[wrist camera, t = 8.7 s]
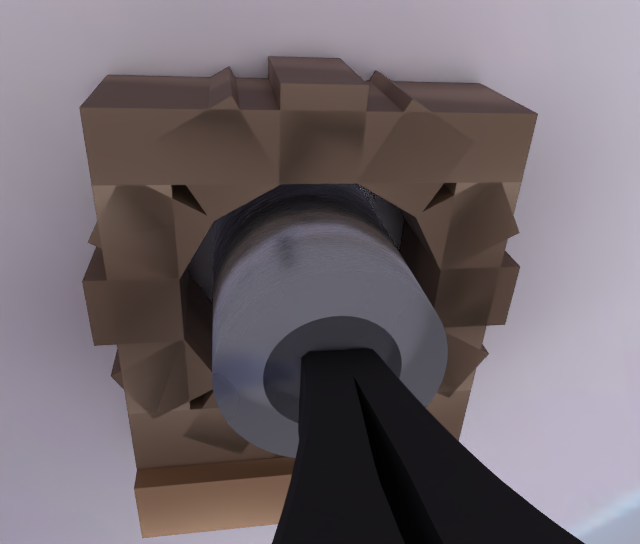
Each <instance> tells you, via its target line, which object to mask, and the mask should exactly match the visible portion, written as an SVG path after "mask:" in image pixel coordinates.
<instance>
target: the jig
mask: <svg viewBox="0 0 640 544" xmlns="http://www.w3.org/2000/svg"><path fill="white" fill-rule="evenodd" d="M79 108H80V114H81V120H82V127H83V133H84V139H85V146H86V152H87V158H88V165H89V171H90V177H91V183H92V190H93V196H94V202H95V209H96V215H97V223H96V225H95V227H94V230H93V232H92V234H91V236H90V239H89V241H88V243H90V244H92V245H95V246H96V249H95V251H94V254H93V256H92V259H91V261H90V263H89V266H88V268H87V271H86V273H85V276H84V278H83V281H82V283H83V288H84V294H85V299H86V304H87V310H88V315H89V321H90V326H91V332H92V337H93V342H94V346H96V345H116V344H117V347H118V349H117V353H116V357H115V361H114V365H113V369H112V373H111V377H112V378H113V379H114V380H115V381H116V382H117V383H118V384H119V385H120V386H121V387H122V388H123V389H124V391H125V397H126V404H127V410H128V416H129V423H130V429H131V435H132V442H133V448H134V454H135V460H136V467H137V473H136V480H135V486H134V491H135V497H136V503H137V509H138V515H139V521H140V527H141V533H142V538H148V537H158V536H167V535H177V534H186V533H196V532H206V531H215V530H225V529H234V528H244V527H253V526H263V525H272V524H278V523H279V520H280V516H281V513H282V510H283V506H284V503H285V499H286V496H287V492H288V488H289V484H290V480H291V476H292V472H293V467H294V462H295V458H291V457H286V456H281V455H278V454H274V453H271V452H268V451H266V450H264V449H261V448H259V447H257V446H255V445H253V444H252V443H250V442H248V441H247V440H245V439H244V438H243V437H242V436H240V435H239V434H238V433H237V432H236V431H235V430H234V429H233V428H232V427H231V426H230V425H229V424H228V423H227V421H226V420H225V418H224V417H223V415H222V414H221V412H220V409H219V407H218V405H217V403H216V399H215V395H214V392H213V381H212V335H213V304H212V303H211V302H210V300H209V299H208V298H207V296H206V295H205V294H204V293H203V291H202V290H201V289H200V287H199V286H198V285H197V283H196V282H195V281H194V280H193V278H192V277H191V276H190V271H189V262H190V261H191V259H192V257H193V256H194V254H195V252H196V251H197V249H198V247H199V246H200V244H201V242H202V240H203V239H204V237H205V235H206V234H207V232H208V230H209V229H210V227H211V225H212V223H213V222H214V221H215V220H217V219H219V218H220V217H222V216H224V215H226V214H228V213H230V212H231V211H233V210H235V209H237V208H239V207H241V206H242V205H244V204H246V203H248V202H250V201H251V200H253V199H255V198H257V197H259V196H261V195H262V194H264V193H266V192H268V191H270V190H271V189H273V188H275V187H277V186H279V185H281V184H359V185H361V186H363V187H364V188H366V189H368V190H370V191H371V192H373V193H375V194H376V195H378V196H380V197H382V198H383V199H385V200H387V201H389V202H390V203H392V204H394V205H395V206H397V207H399V208H400V210H401V212H402V214H403V216H404V218H405V219H404V226H403V233H402V240H401V248H400V254H401V256H402V257H403V259H404V261H405V262H406V264H407V265H408V267H409V269H410V270H411V272H412V274H413V275H414V277H415V279H416V280H417V282H418V283H419V285H420V287H421V288H422V290H423V292H424V293H425V295H426V296H427V298H428V300H429V301H430V303H431V305H432V306H433V308H434V309H435V311H436V313H437V315H438V316H439V318H440V320H441V322H442V324H443V327H444V330H445V334H446V338H447V345H448V359H447V365H446V370H445V374H444V377H443V380H442V383H441V385H440V387H439V389H438V391H437V393H436V395H435V396H434V398H433V399H432V401H431V402H430V404H429V405H428V406H427V407H426V409H427V410H428V411H429V412H430V413H431V414H432V415H433V416H434V417H435V418H436V419H437V420H438V421H439V422H440V423H441V424H442V425H443V426H444V427H445V428H446V429H447V430H448V431H449V432H450V433H451V434H452V435H453V436H454V437H455V438H456V439H457V440H458V441H459V437H460V433H461V429H462V425H463V421H464V417H465V412H466V408H467V404H468V400H469V396H470V392H471V388H472V384H473V380H474V375H475V371H476V367H477V366H478V365H479V364H480V363H481V362H482V361H483V359H484V358H485V357H486V356H487V355H488V354H489V353H488V352H487V350H486V349H485V347H484V346H483V344H482V342H483V338H484V334H485V330H486V326H488V325H505V322H506V319H507V315H508V311H509V307H510V303H511V300H512V296H513V292H514V288H515V284H516V280H517V277H518V273H519V269H520V266H519V265H518V264H517V263H516V262H515V261H514V260H513V259H512V258H511V256H510V255H509V254H508V253H507V252H506V251H505V248H506V243H507V239H508V238H510V237H512V236H514V235H516V234H518V233H519V230H518V228H517V225H516V222H515V219H514V216H513V215H514V210H515V206H516V202H517V198H518V194H519V190H520V186H521V182H522V177H523V173H524V169H525V165H526V161H527V157H528V153H529V149H530V144H531V140H532V136H533V132H534V128H535V124H536V120H537V116H538V114H537V113H535V112H534V111H532V110H530V109H528V108H526V107H524V106H522V105H520V104H518V103H516V102H514V101H513V100H511V99H509V98H507V97H505V96H503V95H501V94H499V93H497V92H495V91H494V90H492V89H490V88H488V87H486V86H484V85H482V84H480V83H437V82H392V81H391V80H390V79H388V78H387V77H385V76H384V75H382V74H381V73H379V72H378V71H377V70H376V71H375V73H374V74H373V76H372V77H371V79H370V81H364V80H363V79H362V78H360V77H359V76H358V75H357V74H356V73H355V72H354V71H353V70H352V69H351V68H350V67H349V66H348V65H346V64H345V63H344V62H343V61H342V60H341V59H340V58H305V57H271V56H268V79H260V78H235V76H234V74H233V72H232V71H231V69H230V67H227V68H225V69H224V70H222V71H220V72H219V73H217V74H215V75H213V76H212V77H171V76H127V75H107V76H106V77H105V78H104V80H103V81H102V82H101V83H100V84H99V85H98V87H97V88H96V89H95V90H94V91H93V92H92V94H91V95H90V96H89V97H88V98H87V99H86V101H85V102H84V103H83V104H82V105H81V106H80V107H79Z"/></svg>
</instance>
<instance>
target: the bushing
mask: <svg viewBox="0 0 640 544" xmlns="http://www.w3.org/2000/svg"><path fill="white" fill-rule="evenodd" d="M357 349H373V350H374V351H375V352H376V353H377V354H378V355H379V356H380V357H381V358H382V359H383V360H384V362H385V363H386V364H387V365H388V366H389V367H390V369H391V370H392V371H393V372H394V373H395V374H396V375H397V377H398V378H399V379H400V380H401V381H402V382H403V383H404V385H405V386H406V387H407V388H408V389H409V390H410V391H411V392H412V393H413V395H414V396H415V397H416V398H417V399H418V400H419V401H420V402H421V403H422V404H423V405H424V407H425V408H426V407H427V406H428V405H429V404H430V402H431V401H432V399H433V398H434V396H435V395H436V393H437V391H438V389H439V387H440V385H441V383H442V380H443V377H444V374H445V370H446V365H447V359H448V345H447V338H446V334H445V330H444V327H443V324H442V322H441V320H440V318H439V316H438V315H437V313H436V311H435V309H434V308H433V306H432V305H431V303H430V301H429V300H428V298H427V296H426V295H425V293H424V292H423V290H422V288H421V287H420V285H419V283H418V282H417V280H416V279H415V277H414V275H413V274H412V272H411V270H410V269H409V267H408V265H407V264H406V262H405V261H404V259H403V257H402V256H401V254H400V252H399V251H398V249H397V248H396V246H395V244H394V243H393V241H392V239H391V238H390V236H389V235H388V233H387V231H386V230H385V228H384V226H383V225H382V223H381V222H380V220H379V218H378V217H377V215H376V213H375V212H374V210H373V209H372V207H371V205H370V204H369V202H368V200H367V199H366V197H365V196H364V194H363V192H362V191H361V189H360V188H359V187H358V185H357V184H281V185H279V186H277V187H275V188H273V189H271V190H270V191H268V192H266V193H264V194H262V195H261V196H259V197H257V198H255V199H253V200H251V201H250V202H248V203H246V204H244V205H242V206H241V207H239V208H237V209H235V210H233V211H231V212H230V213H228V214H226V215H224V216H222V217H220V218H219V219H217V220H215V221H214V228H213V335H212V381H213V392H214V395H215V399H216V403H217V405H218V407H219V409H220V412H221V414H222V415H223V417H224V418H225V420H226V421H227V423H228V424H229V425H230V426H231V427H232V428H233V429H234V430H235V431H236V432H237V433H238V434H239V435H240V436H242V437H243V438H244V439H245V440H247V441H248V442H250V443H252V444H253V445H255V446H257V447H259V448H261V449H264V450H266V451H268V452H271V453H274V454H278V455H281V456H286V457H291V458H296V453H297V449H298V444H299V435H298V420H299V397H300V375H301V357H303V356H304V355H305V354H306V353H307V352H321V351H339V350H357Z"/></svg>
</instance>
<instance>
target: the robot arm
mask: <svg viewBox="0 0 640 544" xmlns="http://www.w3.org/2000/svg"><path fill="white" fill-rule="evenodd" d="M298 435H299V444H298V449H297V453H296V458H295V462H294V467H293V472H292V476H291V480H290V484H289V488H288V492H287V496H286V499H285V503H284V506H283V510H282V513H281V516H280V520H279V523H278V526H277V530H276V533H275V536H274V539H273V542H272V544H584V543H583V542H582V541H580V540H579V539H577V538H576V537H575V536H573V535H572V534H570V533H569V532H567V531H566V530H564V529H563V528H562V527H560V526H559V525H558V524H556V523H555V522H554V521H552V520H551V519H549V518H548V517H547V516H545V515H544V514H543V513H541V512H540V511H539V510H538V509H536V508H535V507H534V506H533V505H531V504H530V503H529V502H528V501H526V500H525V499H524V498H523V497H521V496H520V495H519V494H518V493H516V492H515V491H514V490H513V489H511V488H510V487H509V486H508V485H506V484H505V483H504V482H503V481H501V480H500V479H499V478H498V477H497V476H496V475H495V474H493V473H492V472H491V471H490V470H489V469H488V468H487V467H486V466H484V465H483V464H482V463H481V462H480V461H479V460H478V459H477V458H476V457H475V456H474V455H473V454H472V453H470V452H469V451H468V450H467V449H466V448H465V447H464V446H463V445H462V444H461V443H460V442H459V441H458V440H457V439H456V438H455V437H454V436H453V435H452V434H451V433H450V432H449V431H448V430H447V429H446V428H445V427H444V426H443V425H442V424H441V423H440V422H439V421H438V420H437V419H436V418H435V417H434V416H433V415H432V414H431V413H430V412H429V411H428V410H427V409H426V408H425V407H424V405H423V404H422V403H421V402H420V401H419V400H418V399H417V398H416V397H415V396H414V395H413V393H412V392H411V391H410V390H409V389H408V388H407V387H406V386H405V385H404V383H403V382H402V381H401V380H400V379H399V378H398V377H397V375H396V374H395V373H394V372H393V371H392V370H391V369H390V367H389V366H388V365H387V364H386V363H385V362H384V360H383V359H382V358H381V357H380V356H379V355H378V354H377V353H376V352H375V351H374V350H373V349H357V350H339V351H321V352H307V353H306V354H305V355H304V356H303V357H301V375H300V397H299V420H298Z"/></svg>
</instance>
